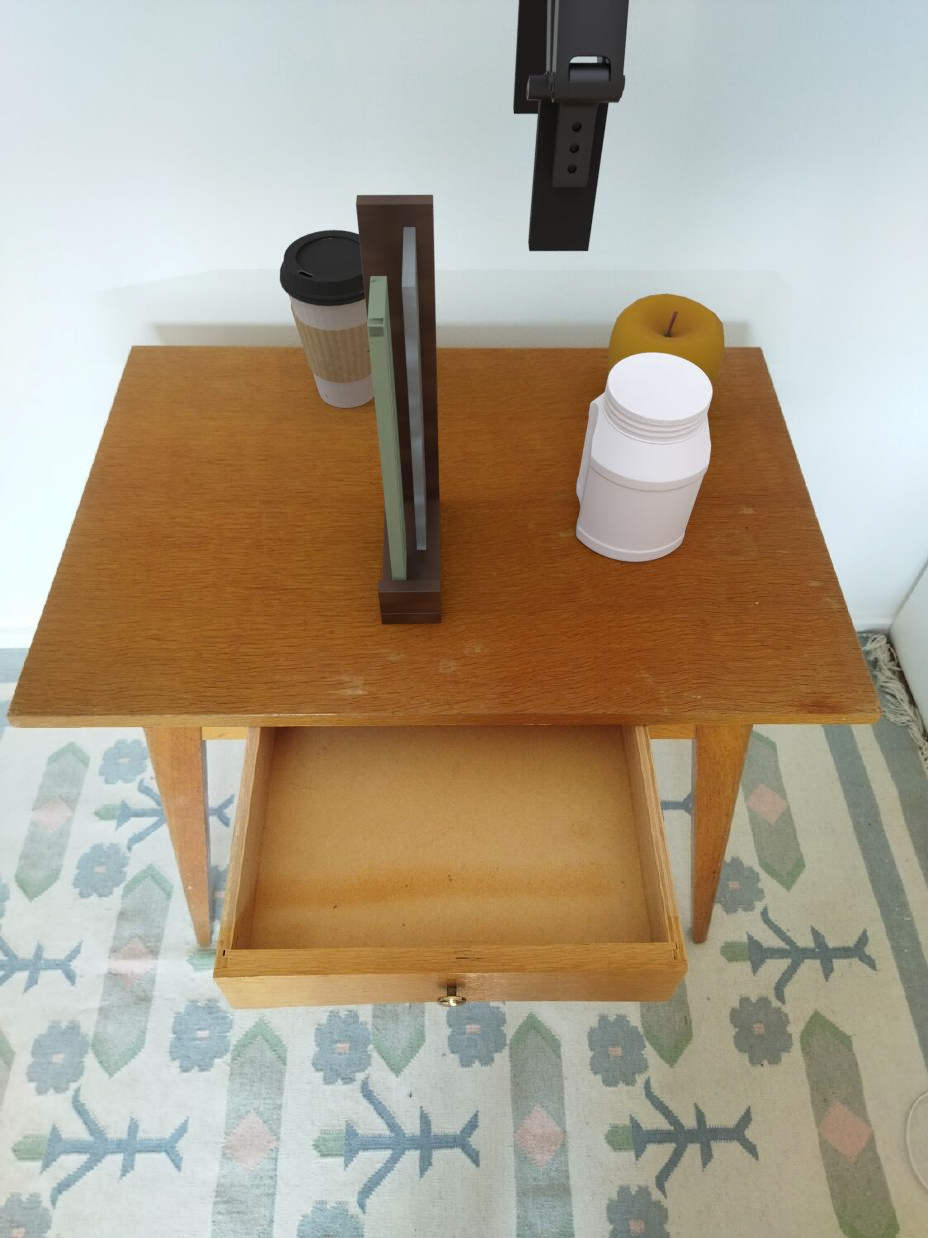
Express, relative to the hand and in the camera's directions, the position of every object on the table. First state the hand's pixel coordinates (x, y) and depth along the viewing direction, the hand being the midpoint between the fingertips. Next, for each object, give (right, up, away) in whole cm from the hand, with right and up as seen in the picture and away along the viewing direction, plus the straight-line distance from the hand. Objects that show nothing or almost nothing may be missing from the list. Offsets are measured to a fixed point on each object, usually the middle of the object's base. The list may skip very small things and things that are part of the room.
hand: (546, 173), depth 42 cm
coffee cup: (-16, +2, +45) cm, 48 cm away
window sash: (-10, -19, +28) cm, 35 cm away
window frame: (-9, -17, +32) cm, 37 cm away
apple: (+15, -2, +43) cm, 45 cm away
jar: (+11, -13, +35) cm, 39 cm away
